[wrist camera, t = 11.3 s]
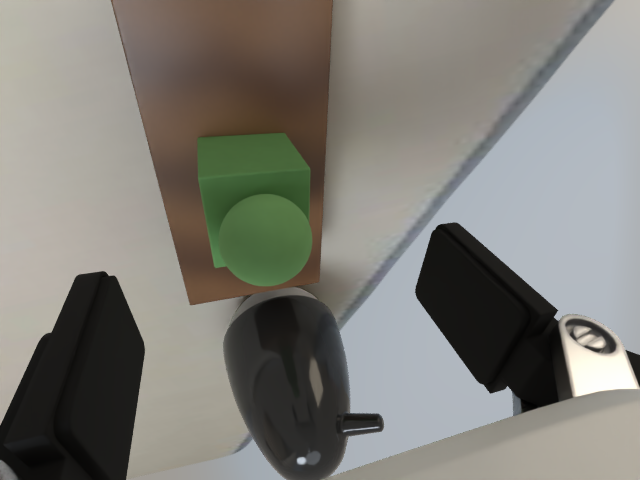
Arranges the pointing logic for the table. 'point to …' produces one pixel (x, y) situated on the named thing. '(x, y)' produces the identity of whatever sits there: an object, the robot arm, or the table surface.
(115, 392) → the robot arm
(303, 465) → the pump dispenser
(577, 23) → the table surface
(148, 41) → the bench
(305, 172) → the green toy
